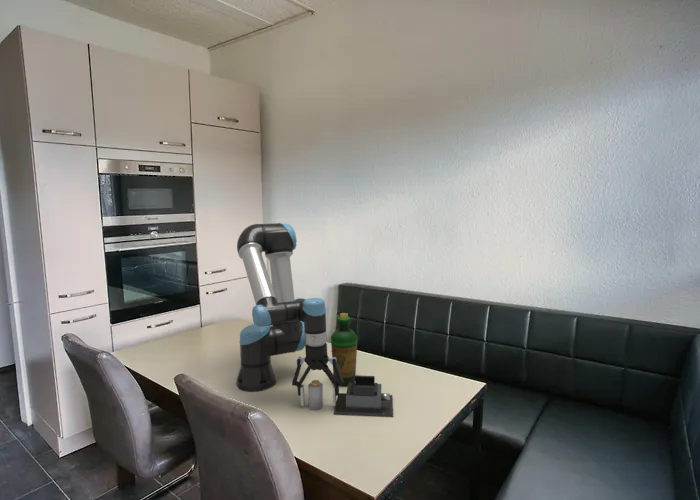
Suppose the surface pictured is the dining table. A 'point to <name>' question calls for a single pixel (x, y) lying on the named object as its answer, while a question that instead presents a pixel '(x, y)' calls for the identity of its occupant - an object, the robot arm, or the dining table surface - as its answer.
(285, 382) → the dining table surface
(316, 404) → the grey cylinder with ball
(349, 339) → the bottle
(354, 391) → the stepped square mount
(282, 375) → the dining table surface
